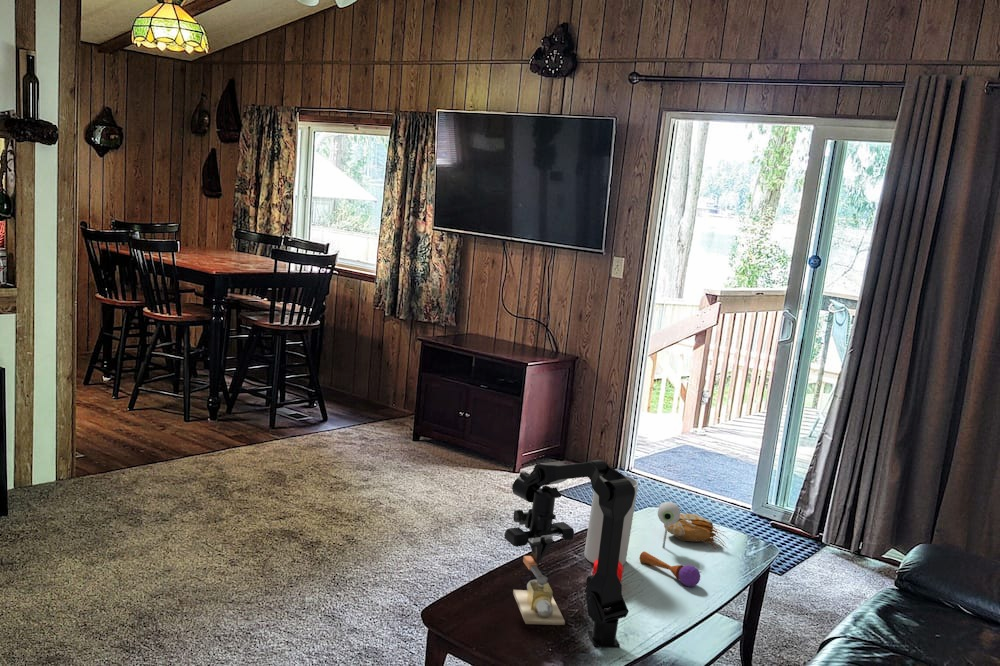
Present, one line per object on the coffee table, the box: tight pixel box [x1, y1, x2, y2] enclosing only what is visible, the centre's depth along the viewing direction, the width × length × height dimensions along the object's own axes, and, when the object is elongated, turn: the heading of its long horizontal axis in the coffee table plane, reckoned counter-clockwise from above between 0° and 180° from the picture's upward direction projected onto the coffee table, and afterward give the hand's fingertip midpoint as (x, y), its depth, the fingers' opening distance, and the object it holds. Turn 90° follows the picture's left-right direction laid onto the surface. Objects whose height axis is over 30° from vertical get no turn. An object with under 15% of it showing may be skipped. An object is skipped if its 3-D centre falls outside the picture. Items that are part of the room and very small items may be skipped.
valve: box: [526, 579, 554, 619], centre depth 221 cm, size 14×5×6 cm, turn 10°
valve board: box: [512, 589, 566, 626], centre depth 221 cm, size 16×10×1 cm, turn 10°
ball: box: [592, 559, 624, 583], centre depth 240 cm, size 8×8×8 cm
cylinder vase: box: [583, 474, 639, 566], centre depth 256 cm, size 12×12×25 cm
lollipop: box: [657, 501, 682, 549], centre depth 272 cm, size 7×7×15 cm
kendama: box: [639, 551, 701, 588], centre depth 252 cm, size 6×6×20 cm
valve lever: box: [522, 555, 548, 585], centre depth 225 cm, size 14×3×2 cm, turn 16°
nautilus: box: [663, 513, 729, 549], centre depth 281 cm, size 8×22×15 cm
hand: (536, 563), depth 230 cm, fingers closed
